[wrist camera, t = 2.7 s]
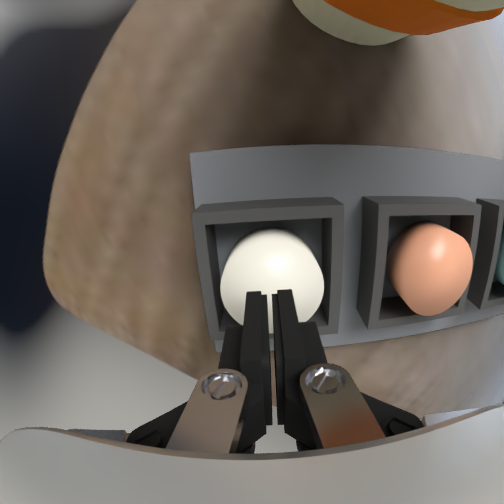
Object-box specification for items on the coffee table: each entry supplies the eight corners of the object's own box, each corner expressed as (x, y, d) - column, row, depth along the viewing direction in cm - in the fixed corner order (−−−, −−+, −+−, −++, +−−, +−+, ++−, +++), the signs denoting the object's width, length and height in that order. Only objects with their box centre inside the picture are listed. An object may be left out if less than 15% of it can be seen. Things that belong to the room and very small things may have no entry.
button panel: (518, 164, 15) (553, 171, 11) (497, 302, 20) (524, 325, 15) (197, 153, 17) (176, 153, 12) (219, 335, 21) (210, 376, 17)
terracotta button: (455, 220, 14) (478, 231, 12) (444, 291, 16) (462, 309, 13) (389, 221, 14) (409, 233, 12) (382, 300, 16) (396, 321, 14)
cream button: (315, 224, 15) (324, 237, 12) (314, 306, 16) (321, 330, 14) (221, 229, 15) (214, 243, 13) (231, 311, 16) (226, 335, 14)
